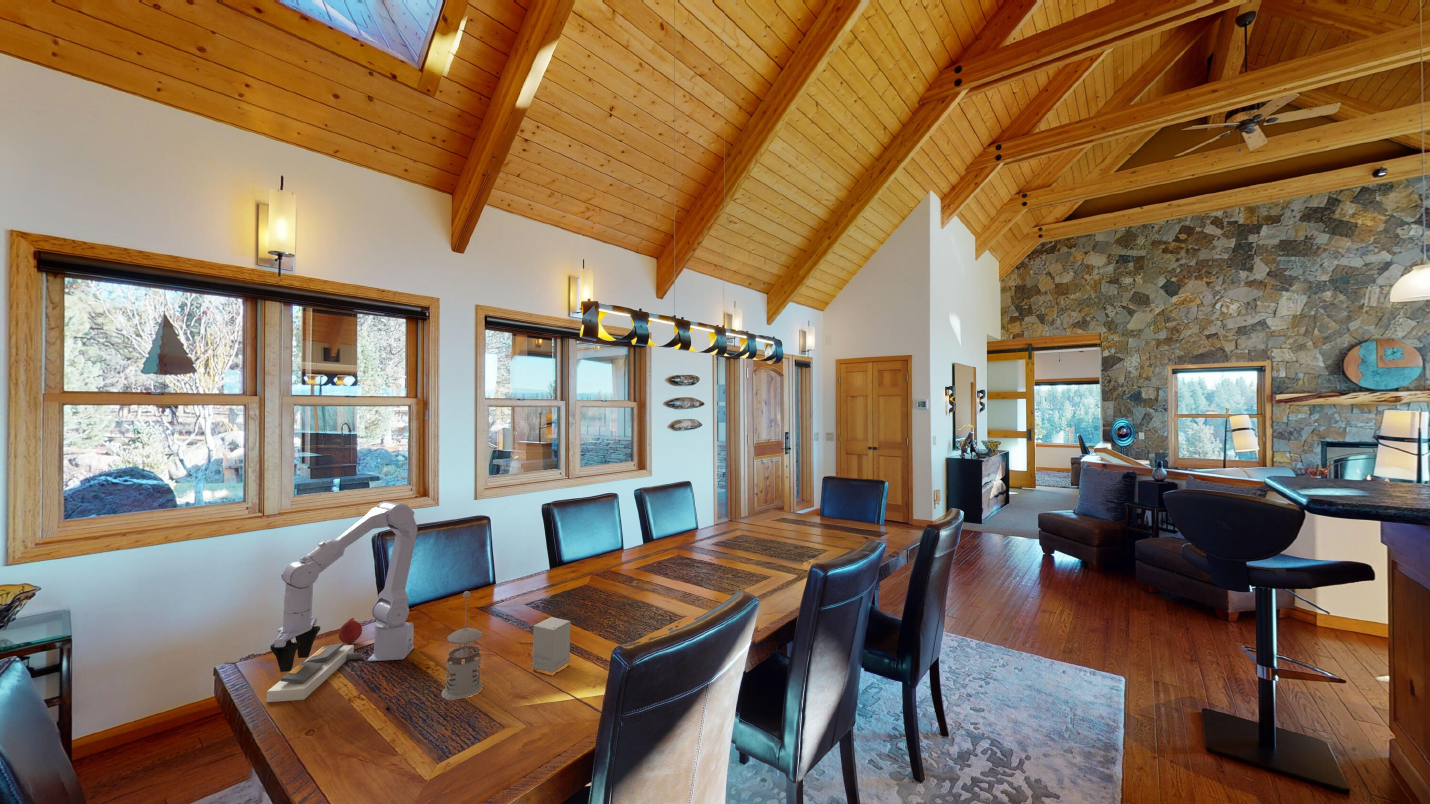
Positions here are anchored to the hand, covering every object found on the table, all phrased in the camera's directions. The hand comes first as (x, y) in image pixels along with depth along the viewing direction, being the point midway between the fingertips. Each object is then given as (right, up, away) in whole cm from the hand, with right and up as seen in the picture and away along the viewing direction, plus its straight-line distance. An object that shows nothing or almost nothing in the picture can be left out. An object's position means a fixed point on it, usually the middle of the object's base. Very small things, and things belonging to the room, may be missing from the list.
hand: (295, 663), depth 133 cm
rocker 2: (0, -3, +11) cm, 11 cm away
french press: (+42, -7, +1) cm, 43 cm away
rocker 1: (+2, -2, 0) cm, 3 cm away
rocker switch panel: (+2, -6, +6) cm, 9 cm away
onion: (-3, -7, +25) cm, 26 cm away
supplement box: (+61, -8, +13) cm, 63 cm away
